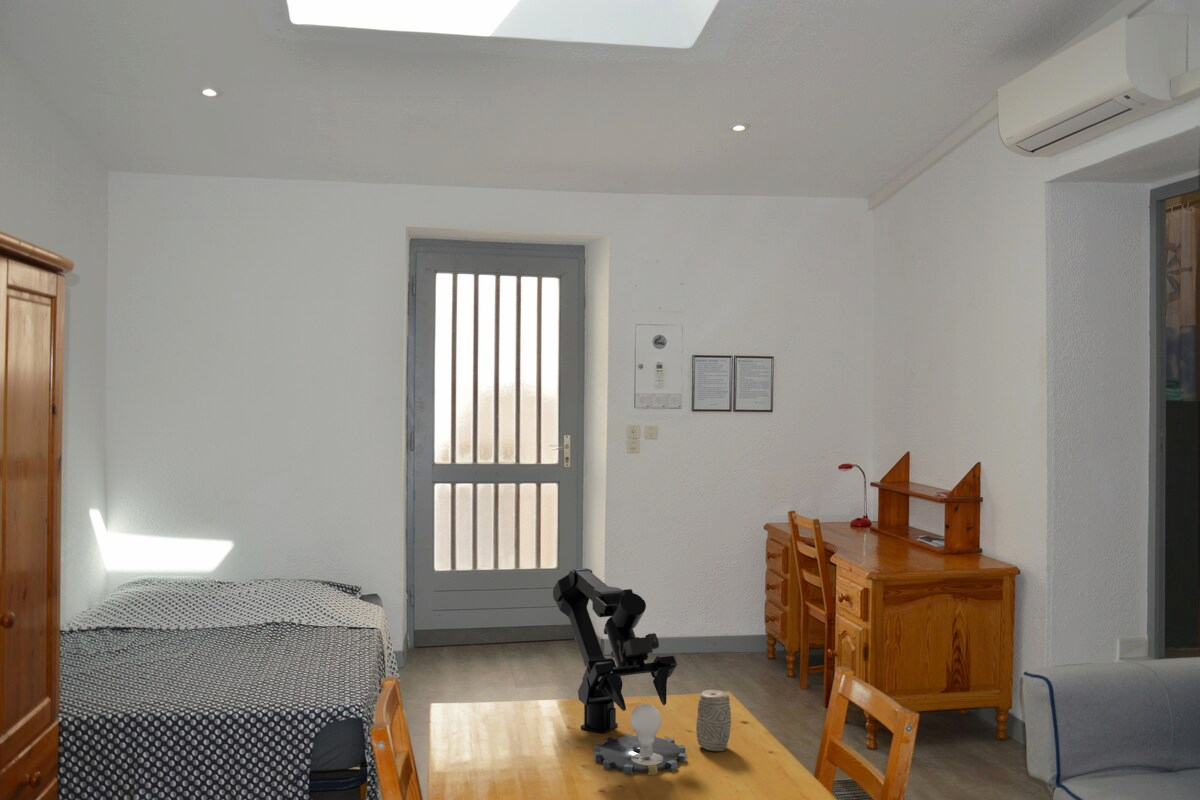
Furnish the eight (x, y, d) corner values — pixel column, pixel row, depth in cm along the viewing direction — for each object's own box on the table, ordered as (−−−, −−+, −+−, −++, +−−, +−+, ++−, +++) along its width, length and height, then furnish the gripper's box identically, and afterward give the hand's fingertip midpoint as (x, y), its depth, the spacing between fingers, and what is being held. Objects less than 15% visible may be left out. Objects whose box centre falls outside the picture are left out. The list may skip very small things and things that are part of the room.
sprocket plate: (576, 762, 203) (576, 753, 203) (623, 734, 219) (623, 726, 219) (658, 782, 193) (658, 772, 193) (701, 751, 209) (701, 742, 209)
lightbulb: (631, 752, 204) (630, 699, 204) (661, 751, 204) (660, 699, 204) (631, 763, 198) (630, 709, 197) (662, 763, 197) (661, 709, 197)
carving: (730, 754, 207) (730, 698, 207) (694, 752, 209) (694, 696, 209) (732, 744, 214) (732, 689, 214) (697, 741, 215) (697, 687, 215)
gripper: (593, 624, 203) (614, 693, 193) (673, 616, 210) (698, 682, 200) (579, 653, 210) (599, 720, 200) (657, 644, 217) (680, 708, 207)
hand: (644, 707), depth 201 cm, fingers open, 9 cm apart
